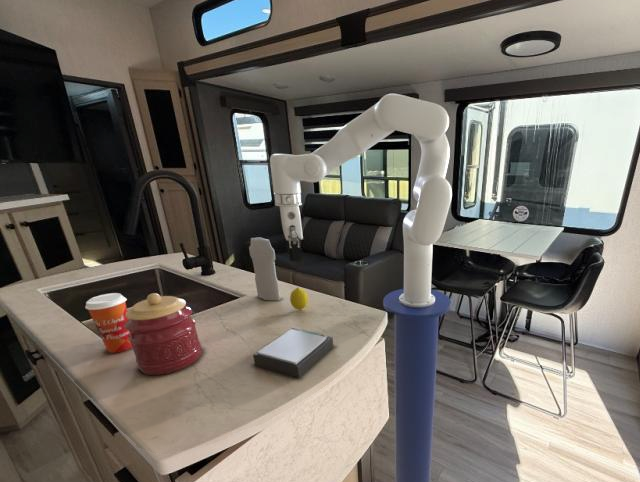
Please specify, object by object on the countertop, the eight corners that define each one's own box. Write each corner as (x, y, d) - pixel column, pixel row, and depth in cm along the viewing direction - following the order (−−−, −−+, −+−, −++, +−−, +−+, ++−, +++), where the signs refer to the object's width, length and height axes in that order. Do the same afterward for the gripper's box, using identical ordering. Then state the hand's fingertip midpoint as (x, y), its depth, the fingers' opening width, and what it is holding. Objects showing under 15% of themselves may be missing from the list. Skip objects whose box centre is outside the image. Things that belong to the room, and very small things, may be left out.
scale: (293, 337, 88) (292, 326, 87) (333, 347, 84) (332, 335, 82) (254, 365, 76) (252, 352, 75) (299, 378, 72) (297, 364, 70)
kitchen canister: (132, 382, 70) (105, 310, 64) (146, 352, 81) (125, 288, 75) (200, 367, 75) (182, 299, 69) (205, 341, 86) (189, 280, 80)
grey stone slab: (253, 297, 114) (242, 237, 106) (261, 293, 117) (252, 235, 110) (277, 302, 110) (267, 240, 103) (284, 297, 114) (276, 237, 106)
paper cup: (97, 357, 79) (76, 306, 74) (109, 342, 85) (92, 294, 80) (135, 351, 82) (118, 301, 77) (145, 337, 88) (129, 290, 83)
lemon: (288, 312, 103) (285, 289, 100) (298, 305, 108) (295, 283, 105) (302, 314, 101) (300, 291, 98) (312, 307, 106) (310, 285, 103)
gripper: (305, 202, 86) (310, 263, 92) (298, 196, 101) (303, 248, 107) (276, 203, 83) (283, 265, 90) (273, 197, 98) (279, 250, 104)
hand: (294, 256), depth 98 cm, fingers open, 9 cm apart
